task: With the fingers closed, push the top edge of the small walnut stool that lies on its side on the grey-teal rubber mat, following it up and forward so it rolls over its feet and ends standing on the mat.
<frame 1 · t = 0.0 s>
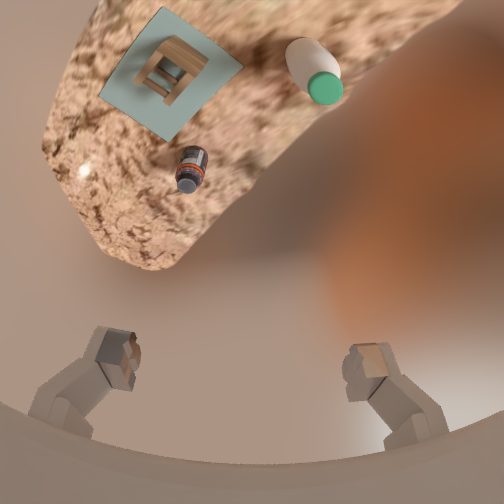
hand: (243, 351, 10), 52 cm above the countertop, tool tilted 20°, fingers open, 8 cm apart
milk bottle: (305, 55, 44), on the countertop
stool: (184, 54, 40), point 5 cm above the countertop, touching mat
mat: (164, 77, 47), on the countertop
supplement bottle: (195, 155, 63), on the countertop
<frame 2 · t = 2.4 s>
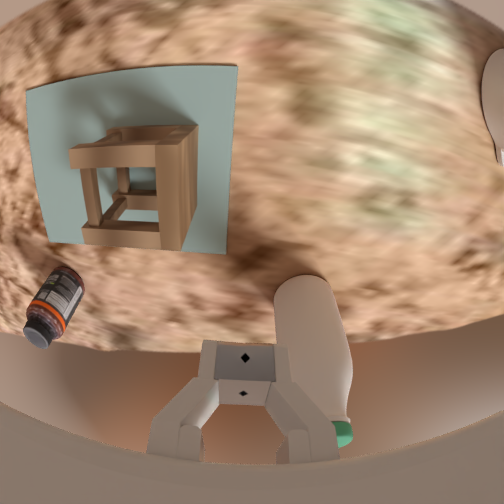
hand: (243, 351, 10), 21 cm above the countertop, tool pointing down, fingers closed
milk bottle: (302, 295, 37), on the countertop
stool: (180, 181, 24), point 5 cm above the countertop, touching mat
mat: (117, 165, 27), on the countertop
supplement bottle: (70, 280, 36), on the countertop
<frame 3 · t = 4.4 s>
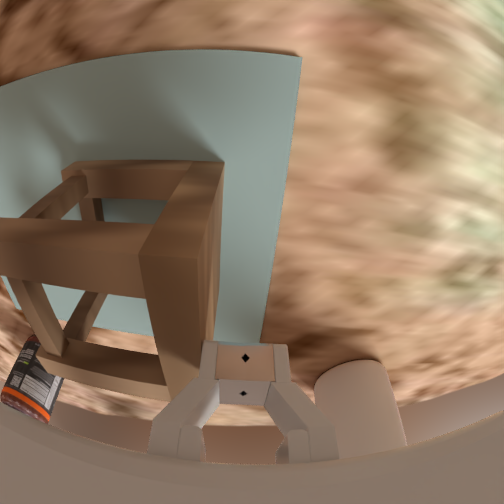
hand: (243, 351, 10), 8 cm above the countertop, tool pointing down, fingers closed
milk bottle: (349, 376, 27), on the countertop
stool: (195, 279, 13), point 5 cm above the countertop, touching gripper, mat
mat: (88, 221, 16), on the countertop
supplement bottle: (49, 349, 26), on the countertop
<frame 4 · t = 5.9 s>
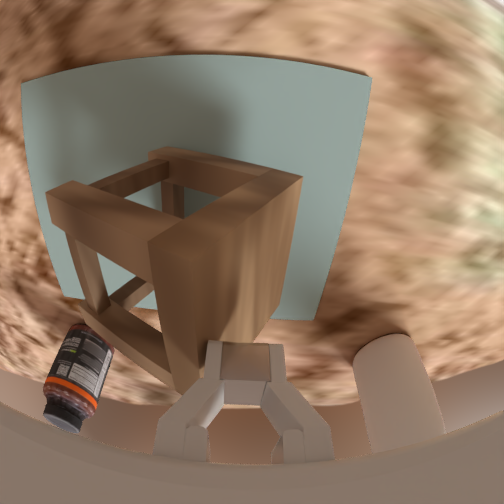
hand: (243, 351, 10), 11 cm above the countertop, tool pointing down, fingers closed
milk bottle: (382, 351, 29), on the countertop
stool: (238, 285, 13), point 8 cm above the countertop, tilted 28°, touching gripper, mat
mat: (169, 204, 19), on the countertop
supplement bottle: (93, 338, 28), on the countertop
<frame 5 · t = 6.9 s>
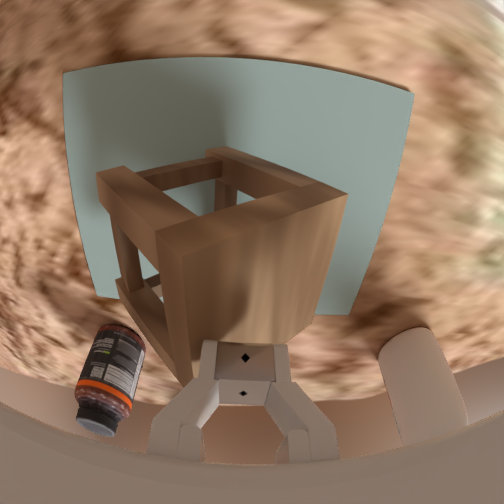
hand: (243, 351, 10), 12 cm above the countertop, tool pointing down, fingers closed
milk bottle: (404, 345, 30), on the countertop
stool: (260, 294, 13), point 9 cm above the countertop, tilted 47°, touching gripper, mat
mat: (223, 203, 20), on the countertop
supplement bottle: (123, 338, 29), on the countertop
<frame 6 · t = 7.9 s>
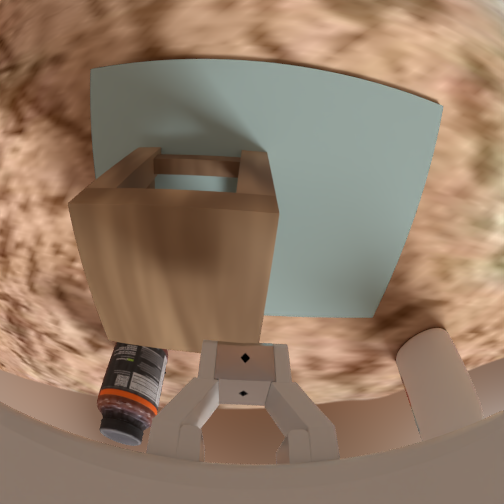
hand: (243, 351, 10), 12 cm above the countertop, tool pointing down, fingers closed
milk bottle: (421, 345, 30), on the countertop
stool: (173, 282, 13), point 8 cm above the countertop, tilted 90°, touching mat
mat: (260, 208, 20), on the countertop
supplement bottle: (144, 344, 29), on the countertop
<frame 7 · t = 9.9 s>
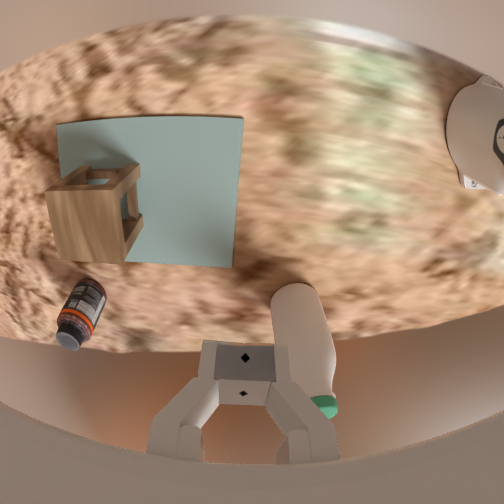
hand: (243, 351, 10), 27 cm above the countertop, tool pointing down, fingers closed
milk bottle: (294, 299, 45), on the countertop
stool: (85, 224, 27), point 8 cm above the countertop, tilted 90°, touching mat
mat: (142, 195, 34), on the countertop
supplement bottle: (92, 290, 43), on the countertop
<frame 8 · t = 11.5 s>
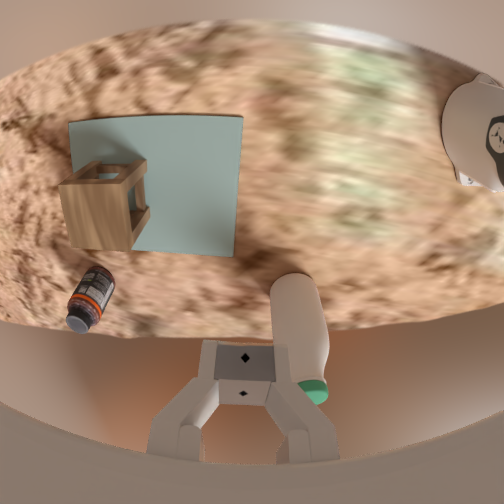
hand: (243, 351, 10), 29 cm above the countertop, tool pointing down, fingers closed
milk bottle: (292, 289, 47), on the countertop
stool: (95, 215, 30), point 8 cm above the countertop, tilted 90°, touching mat
mat: (149, 188, 37), on the countertop
supplement bottle: (101, 278, 46), on the countertop
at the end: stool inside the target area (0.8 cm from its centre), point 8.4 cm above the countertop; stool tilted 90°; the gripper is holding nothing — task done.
